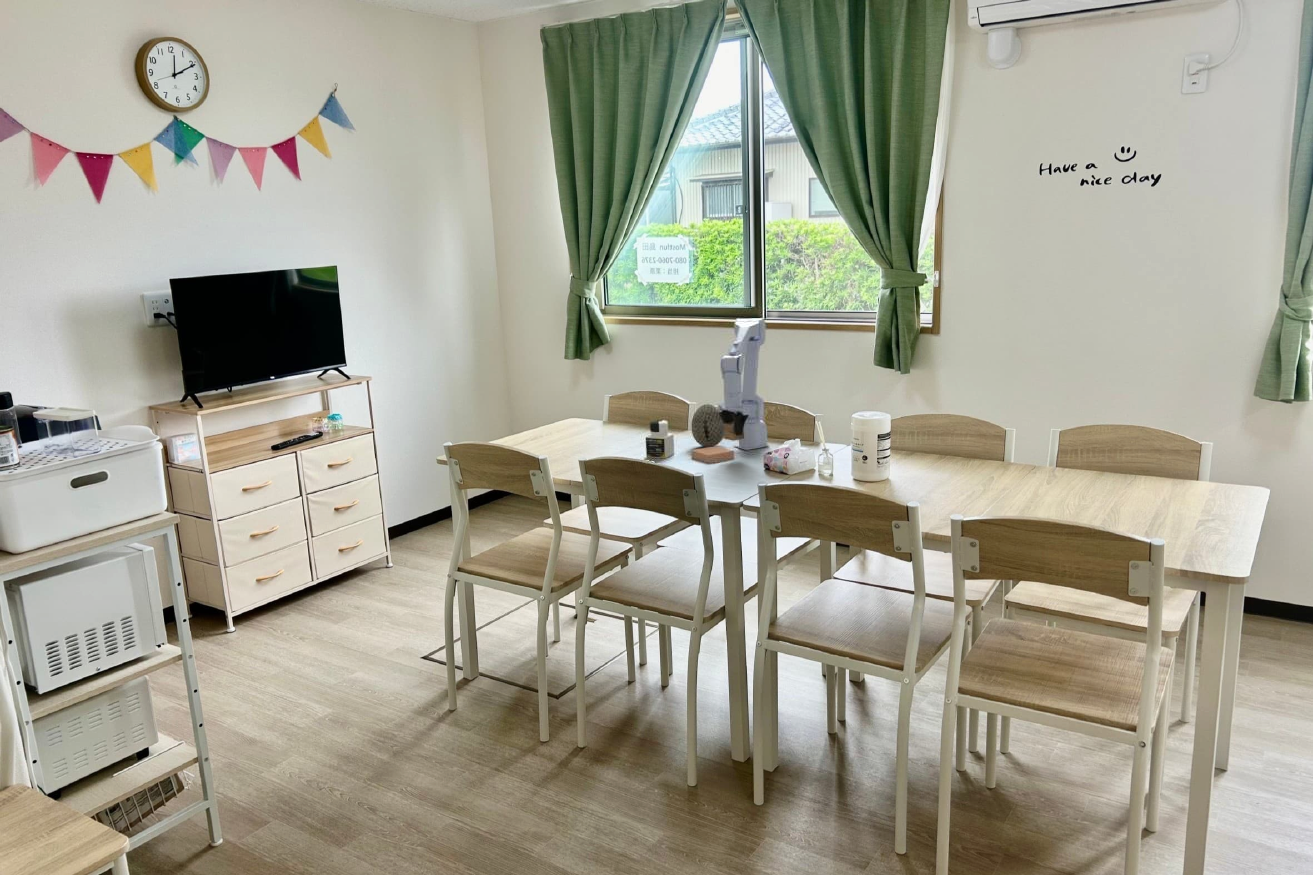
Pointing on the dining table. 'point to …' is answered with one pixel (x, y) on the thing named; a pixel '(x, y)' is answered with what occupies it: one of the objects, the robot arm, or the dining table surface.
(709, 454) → the terracotta slab
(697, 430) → the decorative egg
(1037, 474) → the dining table surface
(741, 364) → the robot arm
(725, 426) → the walnut block
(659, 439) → the medicine bottle
